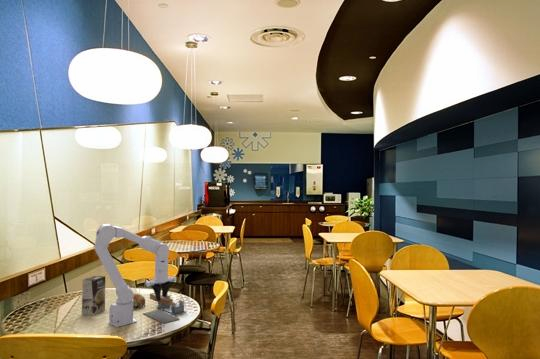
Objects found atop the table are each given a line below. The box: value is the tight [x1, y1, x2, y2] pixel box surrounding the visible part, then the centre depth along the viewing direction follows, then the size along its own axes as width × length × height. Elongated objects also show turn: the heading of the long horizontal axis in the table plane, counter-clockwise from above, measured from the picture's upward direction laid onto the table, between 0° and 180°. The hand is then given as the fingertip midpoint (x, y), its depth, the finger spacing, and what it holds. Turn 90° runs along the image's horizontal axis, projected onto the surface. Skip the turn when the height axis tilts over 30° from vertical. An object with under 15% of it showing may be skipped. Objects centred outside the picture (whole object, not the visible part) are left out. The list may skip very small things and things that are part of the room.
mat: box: [142, 309, 181, 325], centre depth 183 cm, size 8×18×1 cm, turn 46°
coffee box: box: [81, 275, 106, 316], centre depth 189 cm, size 9×6×16 cm
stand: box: [155, 294, 187, 317], centre depth 193 cm, size 6×17×6 cm, turn 46°
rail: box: [149, 292, 174, 306], centre depth 183 cm, size 2×16×2 cm, turn 46°
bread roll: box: [133, 293, 146, 310], centre depth 199 cm, size 10×10×8 cm
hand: (161, 299), depth 183 cm, fingers closed on rail, 2 cm apart
